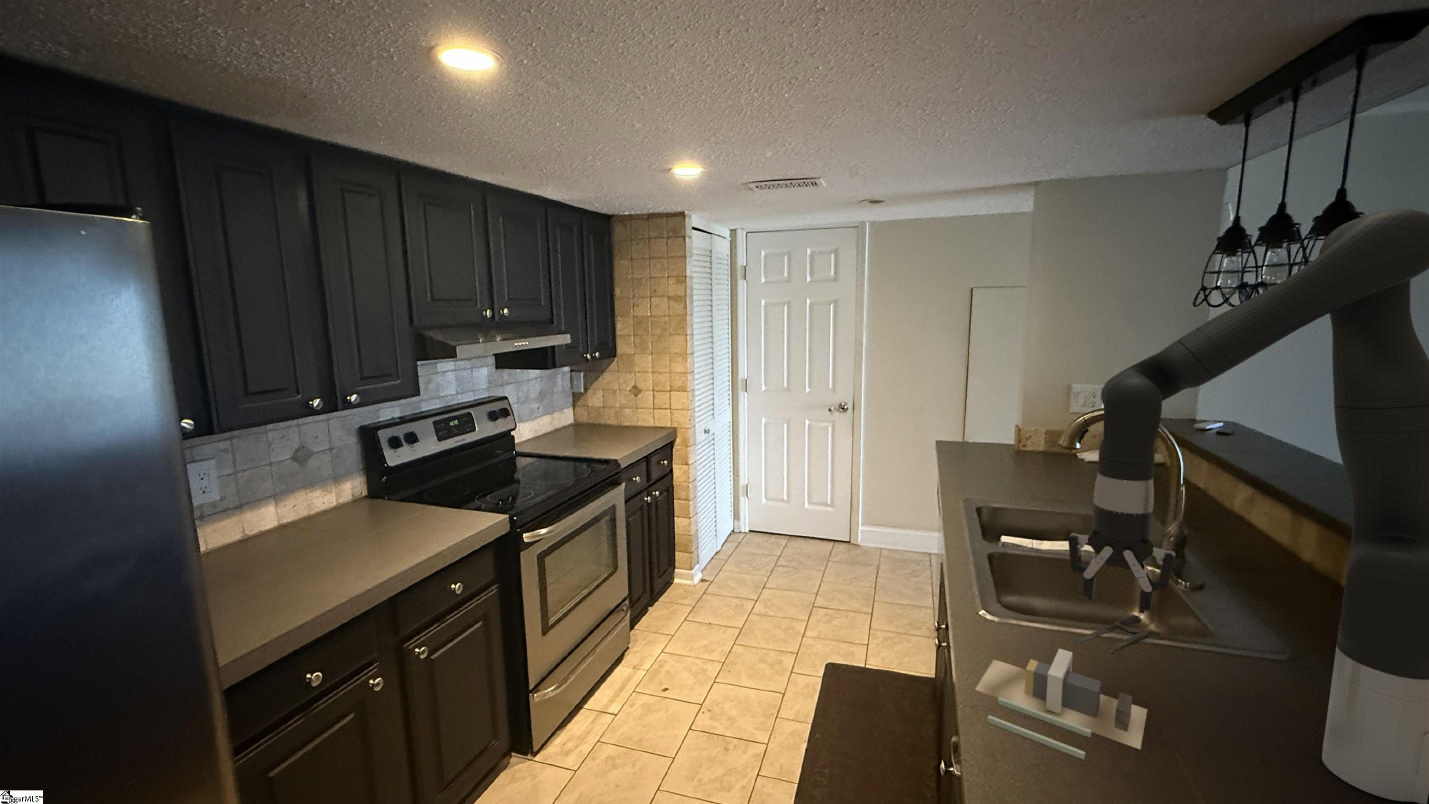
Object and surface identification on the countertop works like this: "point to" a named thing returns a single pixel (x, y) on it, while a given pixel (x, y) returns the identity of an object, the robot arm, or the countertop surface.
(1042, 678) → the long gray brick
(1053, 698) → the strap
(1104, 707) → the flat beige board
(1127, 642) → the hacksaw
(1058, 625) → the countertop surface
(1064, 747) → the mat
